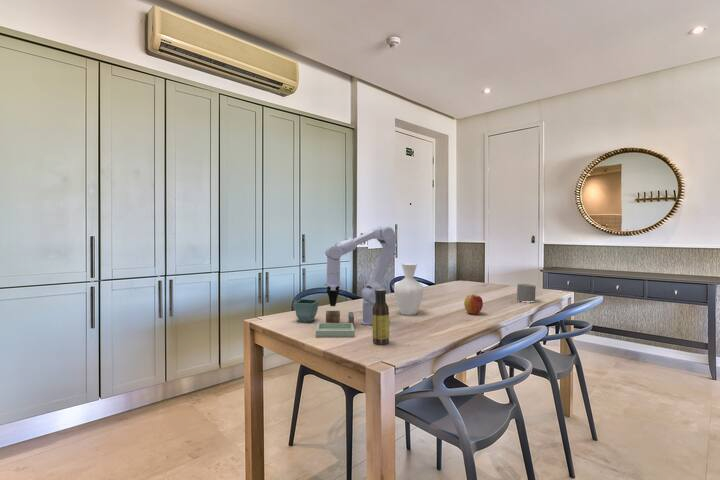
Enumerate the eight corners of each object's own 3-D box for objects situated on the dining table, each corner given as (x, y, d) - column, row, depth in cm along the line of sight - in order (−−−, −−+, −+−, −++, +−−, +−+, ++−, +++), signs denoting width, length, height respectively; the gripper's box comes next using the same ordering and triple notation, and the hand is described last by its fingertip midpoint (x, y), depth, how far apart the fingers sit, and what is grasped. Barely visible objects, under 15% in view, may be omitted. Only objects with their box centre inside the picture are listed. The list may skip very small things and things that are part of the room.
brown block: (339, 324, 165) (339, 310, 165) (339, 327, 159) (339, 313, 159) (326, 324, 164) (326, 310, 164) (325, 327, 158) (325, 313, 158)
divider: (352, 323, 167) (353, 311, 167) (353, 328, 158) (354, 316, 158) (348, 323, 167) (348, 311, 166) (349, 328, 158) (349, 316, 158)
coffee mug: (528, 304, 216) (528, 286, 215) (513, 301, 224) (513, 284, 224) (542, 301, 223) (542, 285, 222) (527, 299, 231) (527, 283, 231)
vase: (403, 309, 197) (403, 262, 196) (427, 313, 189) (428, 264, 188) (389, 313, 185) (389, 264, 185) (414, 318, 177) (415, 266, 176)
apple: (473, 316, 182) (473, 296, 182) (459, 312, 190) (460, 293, 190) (486, 314, 187) (486, 295, 186) (472, 311, 195) (473, 292, 194)
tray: (352, 328, 157) (352, 322, 157) (354, 337, 145) (354, 330, 145) (317, 328, 156) (317, 323, 156) (315, 337, 144) (315, 330, 144)
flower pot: (312, 323, 165) (312, 303, 164) (293, 322, 166) (294, 302, 166) (318, 319, 173) (319, 300, 173) (300, 317, 175) (301, 299, 175)
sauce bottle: (392, 341, 140) (392, 289, 139) (383, 346, 134) (384, 291, 134) (377, 338, 143) (378, 287, 143) (368, 342, 138) (369, 289, 137)
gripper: (324, 271, 168) (324, 301, 168) (323, 275, 153) (323, 307, 154) (340, 271, 168) (339, 301, 169) (340, 275, 154) (340, 307, 154)
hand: (332, 304), depth 161 cm, fingers open, 7 cm apart
